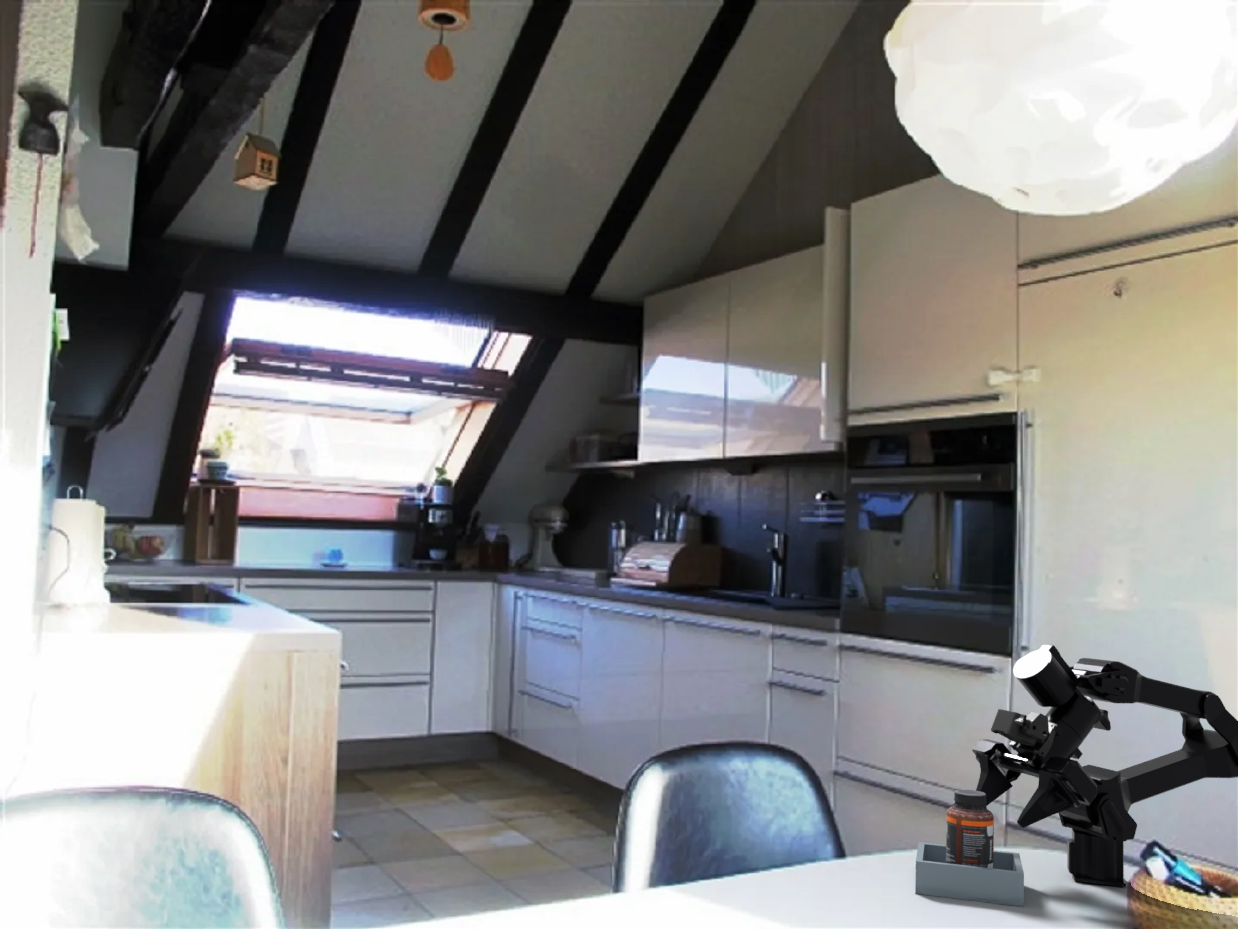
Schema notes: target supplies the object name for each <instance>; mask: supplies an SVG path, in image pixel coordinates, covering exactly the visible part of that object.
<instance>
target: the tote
mask: <svg viewBox="0 0 1238 929" xmlns="http://www.w3.org/2000/svg"><path fill="white" fill-rule="evenodd" d="M993 866H994V869H993V868H984V867H975V866H967V865H958V864H949V863H946V844H939V843H930V842H922V841H921V842H920V841H918V844H917V852H916V858H915V883H914V884H915V891H914V892H915V894H917V895H924V896H925V895H926V896H933V897H940V898H949V899H950V898H951V899H958V900H966V901H973V902H974V901H975V902H982V903H990V904H997V905H998V904H999V905H1005V906H1014V907H1023V908H1024V907H1025V905H1024V904H1025V902H1024V900H1025V872H1024V868H1023V867H1024V866H1023V864H1022V859H1021V854H1020V852H1013V851H1011V852H1010V851H1001V850H995V849H994V864H993Z"/></svg>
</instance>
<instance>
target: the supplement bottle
mask: <svg viewBox="0 0 1238 929" xmlns="http://www.w3.org/2000/svg"><path fill="white" fill-rule="evenodd" d="M953 794H954V796H953V797H954V798H953V801H954V803H953V804H952V805H951V806H950V807H949V808H948V809H947V811H946V839H945V842H946V844H945V845H946V863H949V864H958V865H967V866H975V867H984V868H993V869H994V866H993V864H994V850H995V848H994V847H995V846H994V844H995V843H994V842H995V841H994V840H995V839H994V838H995V836H994V835H995V832H994V830H995V827H994V826H995V824H994V823H995V820H994V819H995V816H994V814H993V812H992V811H991V810H989V809H988V808H987V807H988V806H986V803H987V802H986V794H985V793H984V792H980V791H976V789H975V790H973V789H956V790H954V793H953Z"/></svg>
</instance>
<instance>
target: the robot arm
mask: <svg viewBox="0 0 1238 929" xmlns="http://www.w3.org/2000/svg"><path fill="white" fill-rule="evenodd" d="M1012 673H1013V675H1014V677H1015V678H1016V679H1017V681H1018V682H1019V683H1020V684H1021V685H1022V686H1023V687H1024V689H1025V690H1026V691H1027V693H1028V694H1029V695H1030V696H1031V697H1032V699H1033V700H1034V701H1035V702H1036V704H1037V705H1038V706H1040V707H1043V708H1050V709H1049V710H1048V711H1047V713H1046V714H1045V715H1044V714H1042V713H1041V712H1035V711H1031V712H1030V713H1029V714H1028V715H1026V714H1023V713H1022V714H1021V713H1019V712H1017V711H1011V710H1006V709H1001V708H999V709H997V712H996V714H995V717H994V720H993V721H992V722H993V723H992V726H991V728H990V731H991V732H992V733H994V734H999V735H1001V736H1002V737H1004V738H1006V739H1008V740H1010V742H1009V746H1010V747H1011V748H1012V750H1013V751H1016V752H1017V754H1016V755H1013V753H1012V752H1011V751H1010V749H1009V748H1008V747H1007V746H1006V745H1005V744H1004V743H1003V742H1000V741H995V740H991V739H987V738H986V739H979V741H977V743H976V744H975V745H974V746H973V747H972V750H971V751H972V753H973V754H974V755H975V760H976V761H977V762H978V763H979V767H980V773H979V779H978V782H977V786H976V788H975V791H980V792H984V793H985V794H986V802H987V803H986V807H988V806H989V805H990V804H991V803H993V802H994V801H995V800H997V799H998V798H999V797H1001V796H1002V795H1003V794H1005V793H1006V792H1007V791H1009V790H1010V789H1011V788H1012V787H1014V785H1013V784H1012V782H1015V781H1017V780H1018V779H1019V778H1020V776H1021V775H1022V774H1024V775H1028V776H1031V777H1035V778H1037V779H1038V785H1037V788H1036V789H1035V791H1034V792H1033V794H1032V796H1031V797H1030V798H1029V800H1028V801H1027V804H1026V805H1025V806H1024V808H1023V810H1022V811H1021V813H1020V815H1019V816H1018V819H1017V821H1016V823H1017V825H1018V826H1020V828H1023V829H1024V828H1026V827H1028V826H1031V825H1032V824H1035V823H1038V822H1040V821H1042V820H1045V819H1046V818H1049V817H1050V816H1053V815H1056V814H1058V815H1059V819H1060V820H1059V821H1060V823H1061V825H1062V826H1061V827H1065V828H1069V829H1071V838H1068V839H1067V840H1066V842H1067V847H1066V848H1067V849H1066V850H1067V852H1066V853H1067V854H1066V855H1067V856H1066V857H1067V859H1066V860H1067V865H1066V866H1067V870H1068V873H1069V874H1071V876H1072V879H1073V881H1075V882H1079V883H1081V882H1082V883H1087V884H1088V883H1089V884H1097V885H1106V886H1107V885H1108V886H1114V887H1125V888H1126V887H1127V882H1126V881H1125V877H1124V876H1125V874H1124V871H1125V870H1124V869H1125V867H1124V866H1125V865H1124V864H1125V863H1124V856H1125V855H1124V847H1125V846H1124V842H1127V841H1130V840H1134V839H1135V835H1136V832H1137V828H1138V823H1137V822H1136V821H1135V819H1134V818H1133V817H1132V816H1131V815H1130V813H1129V810H1130V808H1131V807H1132V805H1133V804H1136V803H1139V802H1141V801H1145V800H1147V799H1150V798H1153V797H1156V796H1158V795H1161V794H1164V793H1167V792H1170V791H1173V790H1175V789H1179V788H1181V787H1183V786H1186V785H1188V784H1191V783H1192V784H1193V783H1195V782H1198V781H1200V780H1203V779H1208V778H1210V779H1234V778H1238V720H1237V718H1236V717H1235V716H1234V715H1233V714H1231V713H1230V712H1229V711H1228V709H1226V706H1225V704H1224V703H1223V701H1222V699H1221V698H1220V697H1219V695H1217V694H1216V693H1214V692H1212V691H1208V690H1202V689H1201V690H1200V689H1194V688H1190V687H1185V686H1182V685H1178V684H1175V683H1170V682H1167V681H1166V682H1165V681H1161V680H1159V679H1158V680H1157V679H1154V678H1150V677H1146V676H1145V675H1143V674H1141V673H1140V671H1138V670H1137V669H1136V668H1133V667H1132V666H1130V665H1127V664H1126V663H1123V662H1121V661H1116V660H1108V659H1100V658H1099V659H1097V658H1089V657H1082V658H1079V659H1078V661H1077V662H1076V663H1075V664H1074V665H1072V666H1070V665H1069V664H1068V663H1067V662H1066V661H1065V659H1064V658H1063V656H1062V655H1061V654H1060V651H1059V649H1058V648H1057V647H1056V646H1055V645H1054V644H1044V643H1043V644H1042V645H1041V646H1040V648H1039V649H1036V650H1032V651H1031V652H1028V653H1027V654H1026V655H1024V656H1022V657H1020V658H1018V660H1017V661H1016V663H1015V664H1014V666H1013V668H1012ZM1095 701H1097V702H1098V701H1099V702H1106V703H1113V704H1136V703H1137V704H1138V703H1139V704H1143V705H1145V706H1146V705H1147V706H1150V707H1155V708H1159V709H1163V710H1166V711H1172V712H1176V713H1178V714H1180V716H1181V718H1182V722H1181V724H1182V725H1181V727H1182V728H1181V733H1182V736H1183V738H1184V743H1183V744H1182V747H1181V748H1180V749H1178V750H1175V751H1173V752H1169V753H1167V754H1162V755H1161V756H1157V757H1155V758H1152V759H1149V760H1146V761H1144V762H1141V763H1138V764H1135V765H1132V766H1128V767H1126V768H1123V769H1120V770H1113V769H1109V768H1104V767H1100V766H1097V765H1093V764H1087V765H1081V763H1080V762H1079V761H1078V760H1079V759H1080V758H1081V757H1082V756H1083V752H1082V751H1081V750H1080V748H1079V747H1080V746H1081V745H1082V744H1083V742H1084V741H1085V739H1087V737H1088V736H1089V735H1090V732H1092V730H1093V729H1098V730H1103V731H1108V732H1110V731H1111V729H1112V726H1111V721H1110V719H1109V711H1108V710H1106V709H1101V708H1100V707H1099V706H1098V705H1097V704H1096V702H1095ZM1201 719H1203V720H1205V721H1206V722H1207V724H1208V725H1209V726H1210V727H1211V728H1212V729H1213V730H1212V729H1206V728H1205V729H1204V727H1203V725H1202V723H1201ZM1071 758H1072V759H1071Z"/></svg>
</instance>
